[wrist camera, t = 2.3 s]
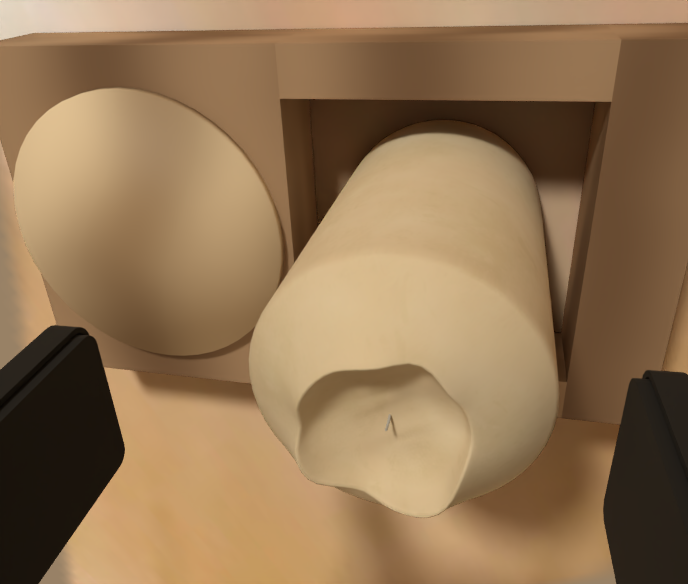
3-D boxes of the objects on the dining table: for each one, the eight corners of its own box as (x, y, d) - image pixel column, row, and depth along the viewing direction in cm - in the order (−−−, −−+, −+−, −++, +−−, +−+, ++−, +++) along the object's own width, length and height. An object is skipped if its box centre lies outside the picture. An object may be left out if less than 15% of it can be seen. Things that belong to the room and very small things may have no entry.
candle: (572, 253, 18) (623, 534, 10) (404, 319, 21) (328, 592, 12) (487, 78, 16) (460, 236, 8) (314, 172, 19) (152, 372, 10)
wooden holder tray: (709, 22, 15) (747, 40, 12) (632, 373, 20) (649, 434, 17) (33, 33, 19) (-37, 48, 16) (108, 323, 24) (63, 368, 21)
